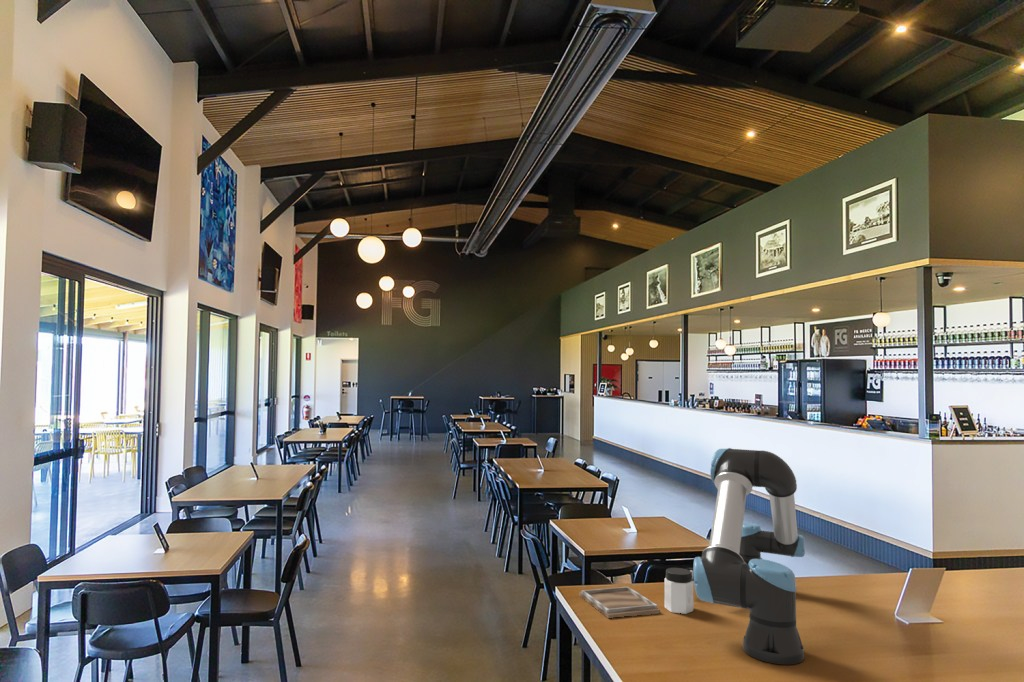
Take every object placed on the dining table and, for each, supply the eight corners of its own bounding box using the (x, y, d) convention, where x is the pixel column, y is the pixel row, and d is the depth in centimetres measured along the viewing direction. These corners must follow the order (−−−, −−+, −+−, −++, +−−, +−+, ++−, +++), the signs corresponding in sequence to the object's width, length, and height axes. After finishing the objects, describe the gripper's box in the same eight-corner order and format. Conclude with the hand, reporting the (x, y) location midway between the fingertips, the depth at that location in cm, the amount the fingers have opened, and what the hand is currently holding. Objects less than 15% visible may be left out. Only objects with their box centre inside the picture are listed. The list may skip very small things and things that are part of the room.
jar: (682, 616, 192) (682, 576, 193) (660, 609, 198) (660, 570, 199) (697, 609, 198) (697, 571, 199) (675, 603, 204) (675, 565, 205)
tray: (660, 613, 194) (660, 606, 194) (608, 618, 189) (608, 611, 189) (626, 591, 215) (626, 585, 215) (579, 595, 209) (579, 589, 210)
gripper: (767, 593, 207) (730, 605, 194) (703, 574, 227) (666, 584, 214) (767, 570, 208) (730, 580, 195) (703, 553, 228) (666, 562, 215)
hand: (697, 582), depth 205 cm, fingers open, 13 cm apart
